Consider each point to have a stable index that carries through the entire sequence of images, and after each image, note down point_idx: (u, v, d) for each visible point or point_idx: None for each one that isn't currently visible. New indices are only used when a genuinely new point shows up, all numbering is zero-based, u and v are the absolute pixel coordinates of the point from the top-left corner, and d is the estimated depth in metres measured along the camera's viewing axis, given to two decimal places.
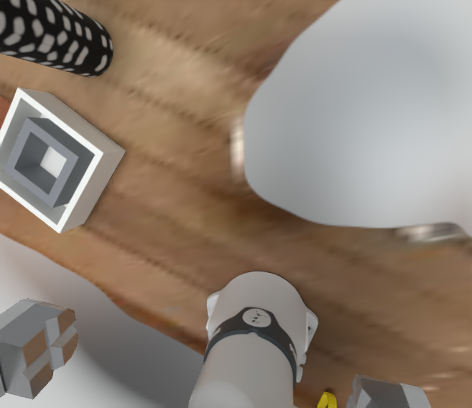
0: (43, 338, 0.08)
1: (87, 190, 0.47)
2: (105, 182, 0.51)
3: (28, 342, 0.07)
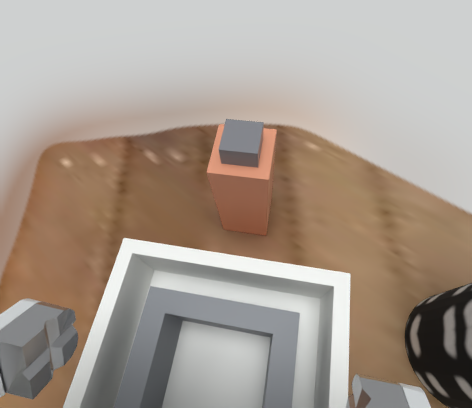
0: (43, 338, 0.08)
1: None
2: None
3: (28, 342, 0.07)
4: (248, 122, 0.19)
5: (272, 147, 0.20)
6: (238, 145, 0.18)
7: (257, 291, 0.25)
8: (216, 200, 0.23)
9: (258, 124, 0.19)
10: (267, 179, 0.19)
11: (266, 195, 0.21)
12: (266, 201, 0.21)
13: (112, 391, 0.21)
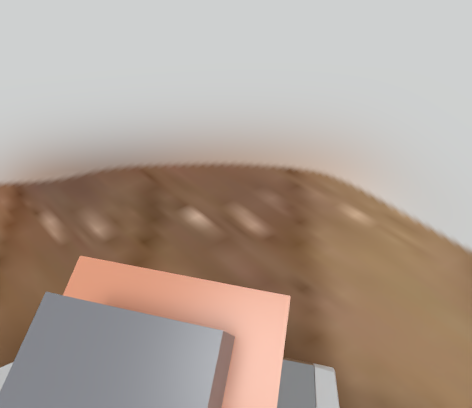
0: None
1: None
2: None
3: None
4: (146, 324, 0.04)
5: (271, 398, 0.04)
6: None
7: None
8: None
9: (195, 343, 0.04)
10: None
11: None
12: None
13: None
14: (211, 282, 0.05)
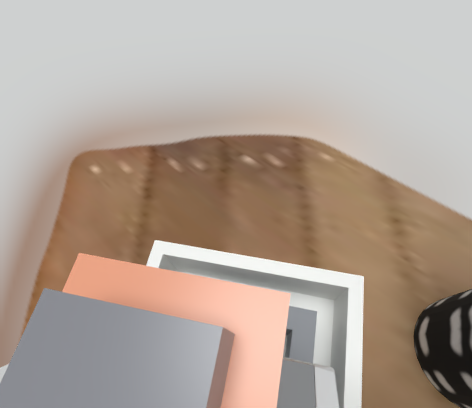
0: None
1: None
2: None
3: None
4: (145, 320, 0.04)
5: (271, 396, 0.04)
6: None
7: None
8: None
9: (195, 340, 0.03)
10: None
11: None
12: None
13: None
14: (211, 279, 0.05)
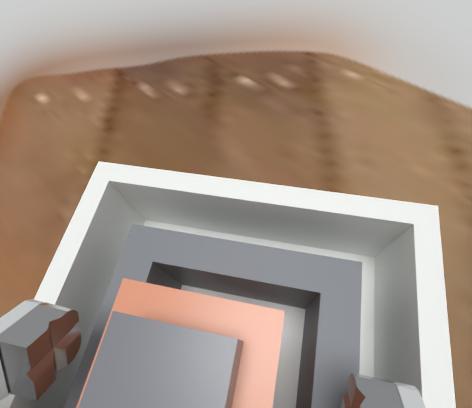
0: (47, 339, 0.08)
1: None
2: None
3: (32, 343, 0.07)
4: (185, 334, 0.05)
5: (270, 386, 0.06)
6: None
7: (285, 246, 0.18)
8: None
9: (219, 347, 0.05)
10: None
11: None
12: None
13: None
14: (225, 300, 0.07)
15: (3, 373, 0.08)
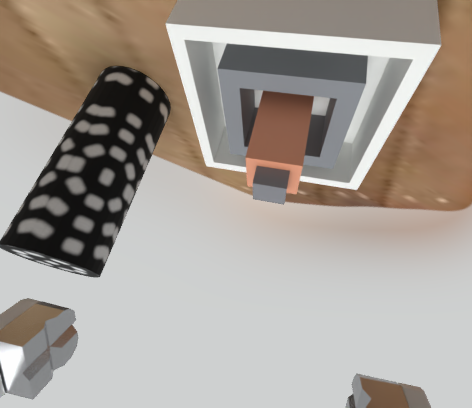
0: (43, 338, 0.08)
1: (284, 20, 0.18)
2: None
3: (28, 342, 0.07)
4: (265, 200, 0.23)
5: (247, 176, 0.23)
6: (269, 189, 0.21)
7: None
8: (308, 121, 0.22)
9: (256, 198, 0.23)
10: (246, 157, 0.21)
11: (253, 134, 0.22)
12: (255, 124, 0.22)
13: (383, 81, 0.23)
14: None
15: None
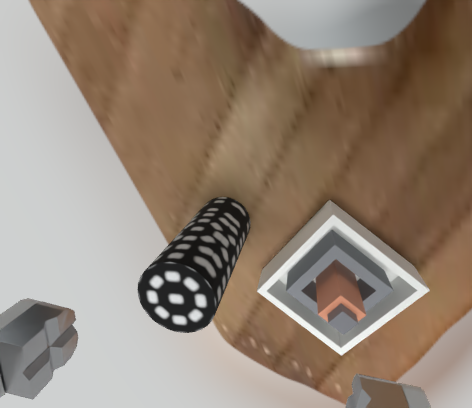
0: (43, 338, 0.08)
1: (375, 245, 0.39)
2: (365, 228, 0.43)
3: (28, 342, 0.07)
4: (334, 327, 0.36)
5: (326, 307, 0.37)
6: (348, 319, 0.35)
7: None
8: (360, 294, 0.40)
9: (331, 323, 0.36)
10: (341, 295, 0.36)
11: (339, 285, 0.38)
12: (338, 281, 0.39)
13: None
14: (326, 320, 0.38)
15: None
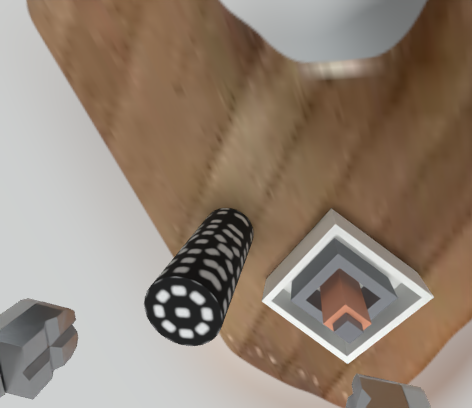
0: (43, 338, 0.08)
1: (378, 253, 0.40)
2: (367, 236, 0.43)
3: (28, 342, 0.07)
4: (340, 336, 0.36)
5: (332, 317, 0.37)
6: (353, 329, 0.35)
7: None
8: (364, 302, 0.40)
9: (336, 332, 0.36)
10: (345, 304, 0.36)
11: (343, 294, 0.38)
12: (342, 290, 0.39)
13: None
14: (332, 330, 0.38)
15: None
